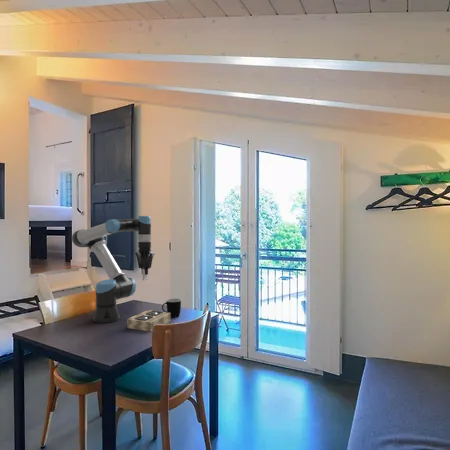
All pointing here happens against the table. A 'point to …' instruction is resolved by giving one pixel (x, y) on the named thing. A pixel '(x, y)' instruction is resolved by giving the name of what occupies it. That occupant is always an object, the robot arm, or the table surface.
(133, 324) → the socket block
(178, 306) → the mug
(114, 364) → the table surface
